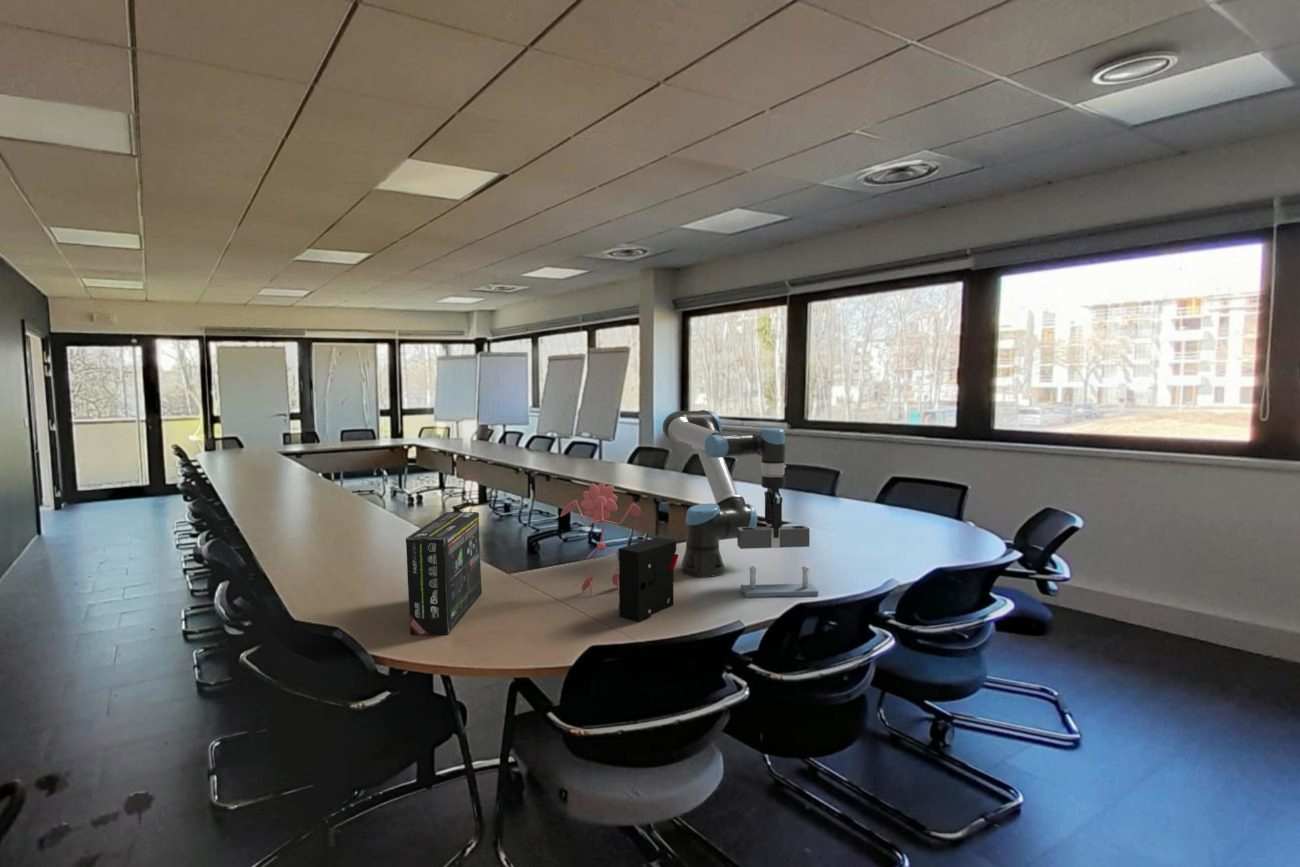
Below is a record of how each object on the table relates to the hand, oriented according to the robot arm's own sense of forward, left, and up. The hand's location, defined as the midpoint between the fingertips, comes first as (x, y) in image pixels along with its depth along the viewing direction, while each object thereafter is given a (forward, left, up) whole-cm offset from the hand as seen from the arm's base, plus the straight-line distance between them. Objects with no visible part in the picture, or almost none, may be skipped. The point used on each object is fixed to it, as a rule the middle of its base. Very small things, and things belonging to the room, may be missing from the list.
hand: (773, 545), depth 223 cm
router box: (-101, -22, -13) cm, 104 cm away
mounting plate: (0, -10, -13) cm, 16 cm away
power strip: (0, 0, 0) cm, 0 cm away
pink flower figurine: (-57, -2, -13) cm, 59 cm away
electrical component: (-43, -24, -13) cm, 51 cm away
